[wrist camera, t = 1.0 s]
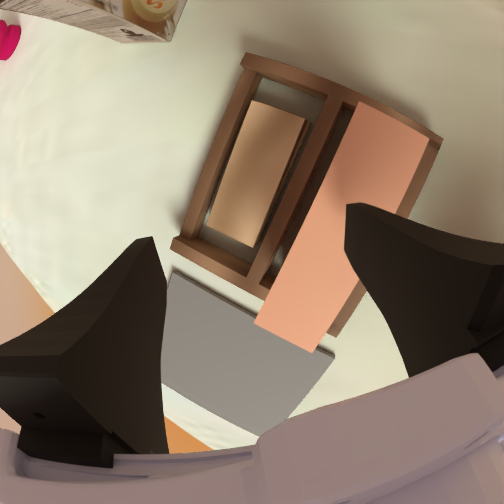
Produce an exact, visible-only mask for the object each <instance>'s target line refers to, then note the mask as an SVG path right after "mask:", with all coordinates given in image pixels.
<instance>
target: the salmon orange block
mask: <svg viewBox="0 0 504 504" xmlns="http://www.w3.org/2000/svg"><path fill="white" fill-rule="evenodd" d="M428 141H429V138H428V137H426V136H424V135H423V134H421V133H419V132H417V131H416V130H414V129H412V128H410V127H409V126H407V125H405V124H403V123H401V122H400V121H398V120H396V119H394V118H392V117H390V116H388V115H386V114H384V113H382V112H380V111H379V110H377V109H374V108H372V107H370V106H368V105H366V104H364V103H362V102H360V101H359V103H358V105H357V107H356V109H355V112H354V114H353V116H352V119H351V121H350V123H349V125H348V128H347V130H346V132H345V134H344V137H343V139H342V141H341V143H340V145H339V148H338V150H337V152H336V154H335V156H334V159H333V161H332V163H331V165H330V167H329V170H328V172H327V174H326V176H325V178H324V180H323V183H322V185H321V187H320V189H319V191H318V193H317V195H316V197H315V200H314V202H313V204H312V206H311V208H310V210H309V212H308V214H307V216H306V218H305V221H304V223H303V225H302V227H301V229H300V231H299V233H298V235H297V237H296V239H295V241H294V243H293V245H292V247H291V249H290V251H289V254H288V256H287V258H286V260H285V262H284V264H283V266H282V268H281V270H280V272H279V274H278V276H277V278H276V280H275V282H274V284H273V286H272V288H271V290H270V292H269V294H268V296H267V298H266V299H265V301H264V303H263V305H262V307H261V309H260V311H259V313H258V315H257V317H256V319H255V321H254V324H256V325H258V326H260V327H262V328H264V329H266V330H268V331H269V332H271V333H273V334H275V335H277V336H279V337H281V338H283V339H285V340H287V341H289V342H291V343H293V344H295V345H297V346H299V347H301V348H303V349H305V350H307V351H309V352H311V353H313V351H314V350H315V348H316V347H317V345H318V344H319V342H320V341H321V339H322V338H323V336H324V335H325V333H326V332H327V330H328V329H329V327H330V326H331V324H332V323H333V321H334V319H335V318H336V316H337V315H338V313H339V312H340V310H341V308H342V307H343V305H344V304H345V302H346V300H347V299H348V297H349V295H350V294H351V292H352V290H353V289H354V287H355V285H356V284H357V282H358V280H359V278H358V276H357V275H356V273H355V272H354V270H353V268H352V266H351V264H350V262H349V260H348V258H347V256H346V254H345V252H344V238H345V219H346V204H350V203H358V202H362V203H366V204H370V205H373V206H376V207H378V208H381V209H384V210H386V211H389V212H391V213H394V214H395V213H396V211H397V209H398V207H399V205H400V203H401V201H402V199H403V197H404V194H405V192H406V190H407V188H408V186H409V184H410V182H411V180H412V178H413V175H414V173H415V171H416V169H417V167H418V164H419V162H420V160H421V157H422V155H423V153H424V151H425V148H426V146H427V143H428Z"/></svg>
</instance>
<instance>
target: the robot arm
mask: <svg viewBox="0 0 504 504" xmlns="http://www.w3.org/2000/svg"><path fill="white" fill-rule="evenodd" d="M344 252H345V254H346V256H347V258H348V260H349V262H350V264H351V266H352V268H353V270H354V272H355V273H356V275H357V276H358V278H359V279H360V281H361V282H362V284H363V285H364V287H365V288H366V290H367V291H368V293H369V294H370V296H371V297H372V299H373V300H374V302H375V303H376V305H377V306H378V308H379V309H380V311H381V313H382V314H383V316H384V318H385V320H386V322H387V324H388V326H389V328H390V330H391V332H392V335H393V337H394V339H395V341H396V344H397V346H398V349H399V351H400V354H401V356H402V359H403V361H404V364H405V367H406V370H407V373H408V376H409V378H408V379H405V380H403V381H400V382H397V383H395V384H392V385H389V386H387V387H384V388H381V389H378V390H375V391H372V392H369V393H366V394H363V395H360V396H357V397H354V398H351V399H347V400H344V401H341V402H337V403H334V404H330V405H326V406H323V407H319V408H317V409H314V410H311V411H309V412H306V413H303V414H300V415H297V416H294V417H291V418H288V419H286V420H284V421H283V422H281V423H279V424H278V425H276V426H275V427H273V428H271V429H270V430H268V431H266V432H265V433H263V434H262V435H261V436H260V437H259V439H258V440H257V442H256V444H255V445H250V446H244V447H237V448H230V449H222V450H213V451H204V452H192V453H178V454H177V453H176V454H169V449H168V443H167V437H166V430H165V422H164V413H163V402H162V388H161V351H162V341H163V333H164V324H165V316H166V307H167V281H166V278H165V275H164V272H163V269H162V266H161V262H160V259H159V256H158V253H157V250H156V247H155V243H154V240H153V237H152V236H150V237H145V238H140V239H136V240H135V241H134V242H133V243H132V244H130V245H129V246H128V247H127V248H126V249H125V250H124V252H123V253H122V254H121V255H120V256H119V257H118V258H117V259H116V260H115V261H114V262H113V263H112V264H111V265H110V266H109V267H108V268H107V269H106V270H105V271H104V272H103V273H102V274H101V275H100V276H99V277H98V278H97V279H96V280H95V281H94V282H93V283H92V284H91V285H90V286H89V287H88V288H87V289H85V290H84V291H83V292H82V293H81V294H80V295H78V296H77V297H76V298H75V299H74V300H72V301H71V302H70V303H69V304H67V305H66V306H65V307H63V308H62V309H60V310H59V311H58V312H56V313H55V314H54V315H52V316H51V317H49V318H48V319H46V320H45V321H43V322H42V323H40V324H39V325H37V326H36V327H34V328H32V329H30V330H29V331H27V332H25V333H23V334H21V335H20V336H18V337H16V338H14V339H12V340H10V341H8V342H6V343H4V344H2V345H0V408H1V409H2V410H4V411H5V412H6V413H7V414H8V415H9V416H10V417H11V418H12V419H14V420H15V421H16V422H17V423H18V424H19V425H21V426H22V427H21V431H20V435H19V434H17V433H15V432H13V431H10V430H7V429H1V428H0V504H504V244H500V243H493V242H486V241H481V240H475V239H471V238H466V237H462V236H458V235H454V234H450V233H447V232H443V231H440V230H437V229H434V228H431V227H428V226H425V225H422V224H419V223H417V222H414V221H411V220H409V219H406V218H404V217H401V216H399V215H396V214H394V213H391V212H389V211H386V210H384V209H381V208H378V207H376V206H373V205H370V204H366V203H362V202H358V203H350V204H346V219H345V238H344Z"/></svg>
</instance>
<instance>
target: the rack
mask: <svg viewBox="0 0 504 504" xmlns="http://www.w3.org/2000/svg"><path fill="white" fill-rule="evenodd" d="M240 64H241V65H242V66H243V67H244V68H245V69H244V71H243V73H242V75H241V77H240V80H239V82H238V84H237V86H236V89H235V91H234V93H233V96H232V98H231V100H230V103H229V105H228V107H227V110H226V112H225V114H224V117H223V119H222V122H221V124H220V127H219V129H218V132H217V134H216V136H215V139H214V142H213V144H212V147H211V149H210V152H209V154H208V157H207V160H206V162H205V165H204V167H203V170H202V173H201V175H200V178H199V181H198V184H197V186H196V189H195V192H194V195H193V197H192V200H191V203H190V206H189V209H188V212H187V215H186V218H185V220H184V223H183V226H182V229H181V232H180V235H179V236H177V237H174V238H173V240H172V243H171V247H170V249H171V250H172V251H174V252H176V253H178V254H180V255H181V256H183V257H185V258H187V259H188V260H190V261H192V262H194V263H196V264H197V265H199V266H201V267H203V268H205V269H206V270H208V271H210V272H212V273H214V274H215V275H217V276H219V277H221V278H223V279H225V280H226V281H228V282H230V283H232V284H234V285H236V286H237V287H239V288H241V289H243V290H245V291H247V292H249V293H250V294H252V295H254V296H256V297H258V298H260V299H262V300H264V301H265V299H266V298H267V296H268V294H269V292H270V290H271V288H272V286H273V284H274V282H275V280H276V277H274V276H272V275H270V274H268V273H267V272H268V270H269V268H270V266H271V264H272V262H273V260H274V257H275V255H276V253H277V251H278V249H279V247H280V245H281V243H282V241H283V239H284V236H285V234H286V232H287V230H288V228H289V226H290V224H291V222H292V219H293V217H294V215H295V213H296V211H297V209H298V207H299V205H300V202H301V200H302V198H303V196H304V194H305V192H306V189H307V187H308V185H309V183H310V181H311V179H312V176H313V174H314V172H315V170H316V168H317V165H318V163H319V161H320V159H321V157H322V154H323V152H324V150H325V148H326V146H327V143H328V141H329V139H330V137H331V134H332V132H333V130H334V128H335V126H336V123H337V121H338V119H339V117H340V114H341V112H342V110H343V108H344V109H346V110H348V111H350V112H352V113H354V112H355V109H356V107H357V105H358V103H359V101H360V102H362V103H364V104H366V105H368V106H370V107H372V108H374V109H377V110H379V111H380V112H382V113H384V114H386V115H388V116H390V117H392V118H394V119H396V120H398V121H400V122H401V123H403V124H405V125H407V126H409V127H410V128H412V129H414V130H416V131H417V132H419V133H421V134H423V135H424V136H426V137H428V138H429V141H428V143H427V146H426V148H425V151H424V153H423V155H422V157H421V160H420V162H419V164H418V167H417V169H416V171H415V173H414V175H413V178H412V180H411V182H410V184H409V186H408V188H407V190H406V192H405V194H404V197H403V199H402V201H401V203H400V205H399V207H398V209H397V211H396V213H395V214H396V215H399V216H401V217H404V218H406V219H407V218H408V216H409V214H410V212H411V210H412V208H413V206H414V204H415V202H416V200H417V198H418V196H419V194H420V192H421V189H422V187H423V185H424V183H425V181H426V179H427V176H428V174H429V172H430V170H431V167H432V165H433V163H434V161H435V158H436V156H437V154H438V151H439V149H440V146H441V144H442V141H443V138H441V137H440V136H438V135H437V134H435V133H433V132H432V131H430V130H428V129H427V128H425V127H423V126H422V125H420V124H418V123H417V122H415V121H413V120H411V119H409V118H408V117H406V116H404V115H402V114H400V113H399V112H397V111H395V110H393V109H391V108H389V107H387V106H385V105H383V104H381V103H379V102H377V101H375V100H373V99H371V98H369V97H367V96H365V95H362V94H360V93H358V92H356V91H354V90H351V89H349V88H347V87H344V86H342V85H340V84H337V83H335V82H333V81H330V80H328V79H325V78H323V77H320V76H317V75H315V74H312V73H309V72H307V71H304V70H301V69H298V68H295V67H293V66H290V65H287V64H284V63H280V62H277V61H274V60H271V59H268V58H264V57H261V56H257V55H254V54H250V53H245V55H244V57H243V59H242V61H241V63H240ZM262 77H263V78H267V79H270V80H273V81H275V82H278V83H281V84H284V85H287V86H290V87H292V88H295V89H298V90H300V91H303V92H305V93H308V94H311V95H313V96H316V97H318V98H320V99H323V100H325V101H326V102H325V104H324V106H323V108H322V111H321V113H320V115H319V117H318V120H317V122H316V124H315V126H314V129H313V131H312V133H311V135H310V138H309V140H308V142H307V144H306V147H305V149H304V151H303V153H302V155H301V158H300V160H299V162H298V164H297V167H296V169H295V171H294V173H293V176H292V178H291V180H290V182H289V184H288V187H287V189H286V191H285V193H284V196H283V198H282V200H281V202H280V204H279V207H278V209H277V211H276V213H275V216H274V218H273V220H272V222H271V224H270V227H269V229H268V231H267V233H266V236H265V238H264V240H263V242H262V244H261V247H260V249H259V251H258V253H257V255H256V258H255V260H254V262H253V264H252V265H251V264H249V263H247V262H245V261H244V260H242V259H240V258H238V257H236V256H234V255H232V254H230V253H228V252H226V251H225V250H223V249H221V248H219V247H217V246H215V245H213V244H211V243H209V242H208V241H206V240H204V239H202V238H200V237H198V236H199V233H200V230H201V227H202V225H203V222H204V219H205V216H206V214H207V211H208V208H209V206H210V203H211V200H212V198H213V195H214V193H215V190H216V187H217V185H218V182H219V180H220V177H221V174H222V172H223V169H224V167H225V164H226V162H227V159H228V157H229V154H230V152H231V149H232V147H233V145H234V142H235V140H236V137H237V135H238V132H239V130H240V128H241V125H242V123H243V121H244V118H245V116H246V114H247V111H248V109H249V107H250V104H251V101H252V100H253V97H254V95H255V93H256V91H257V88H258V86H259V84H260V82H261V79H262ZM366 291H367V290H366V288H365V287H364V285H363V284H362V282H361V281H360V279H359V280H358V282H357V284H356V285H355V287H354V289H353V290H352V292H351V294H350V295H349V297H348V299H347V300H346V302H345V304H344V305H343V307H342V308H341V310H340V312H339V313H338V315H337V316H336V318H335V319H334V321H333V323H332V324H331V326H330V327H329V329H328V330H327V332H326V333H328V334H330V335H332V336H334V337H337V336H338V334H339V333H340V331H341V330H342V328H343V327H344V325H345V324H346V322H347V321H348V319H349V318H350V316H351V315H352V313H353V312H354V310H355V309H356V307H357V305H358V304H359V302H360V301H361V299H362V297H363V296H364V294H365V293H366Z"/></svg>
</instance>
